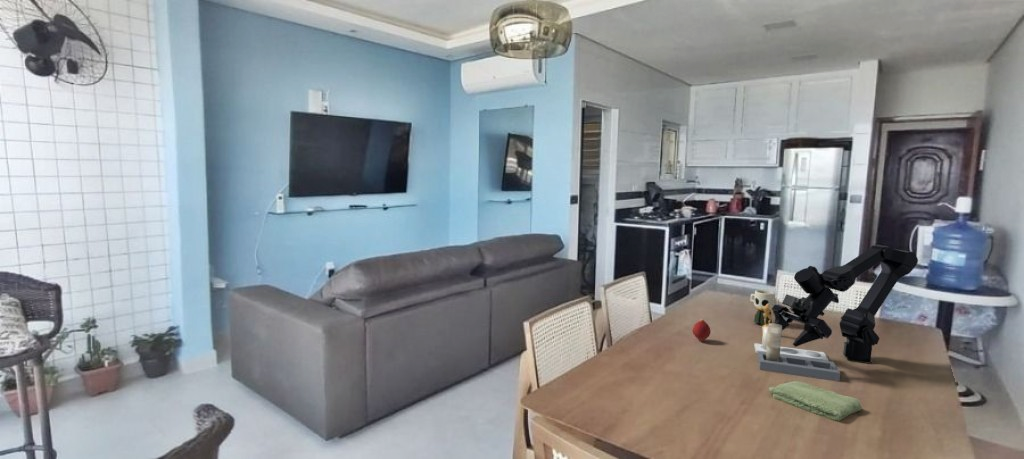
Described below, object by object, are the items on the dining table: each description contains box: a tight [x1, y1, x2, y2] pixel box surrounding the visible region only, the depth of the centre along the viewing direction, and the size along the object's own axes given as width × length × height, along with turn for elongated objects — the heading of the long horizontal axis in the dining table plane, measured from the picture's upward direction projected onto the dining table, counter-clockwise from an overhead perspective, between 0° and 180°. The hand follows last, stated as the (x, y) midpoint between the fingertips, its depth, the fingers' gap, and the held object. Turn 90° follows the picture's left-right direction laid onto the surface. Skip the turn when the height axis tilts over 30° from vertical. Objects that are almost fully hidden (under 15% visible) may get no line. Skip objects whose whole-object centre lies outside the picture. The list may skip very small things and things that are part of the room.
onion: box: [692, 318, 711, 342], centre depth 172 cm, size 6×6×8 cm
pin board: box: [756, 352, 841, 382], centre depth 148 cm, size 20×9×2 cm, turn 68°
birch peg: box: [766, 322, 783, 362], centre depth 150 cm, size 4×4×13 cm
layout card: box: [753, 326, 830, 361], centre depth 161 cm, size 20×8×8 cm, turn 68°
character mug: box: [749, 289, 780, 326], centre depth 193 cm, size 11×7×13 cm, turn 39°
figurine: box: [754, 304, 773, 333], centre depth 180 cm, size 8×6×12 cm
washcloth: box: [768, 380, 863, 422], centre depth 127 cm, size 13×18×3 cm
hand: (782, 340), depth 151 cm, fingers open, 9 cm apart
